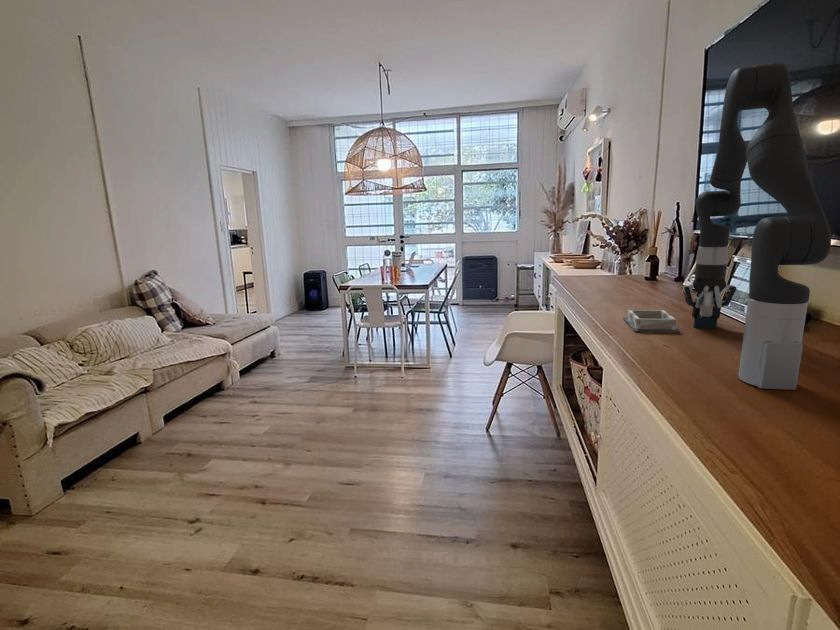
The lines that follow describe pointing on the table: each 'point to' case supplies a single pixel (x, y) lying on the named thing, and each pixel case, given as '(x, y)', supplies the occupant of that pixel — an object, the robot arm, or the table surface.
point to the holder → (651, 321)
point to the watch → (706, 313)
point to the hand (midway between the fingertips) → (705, 319)
